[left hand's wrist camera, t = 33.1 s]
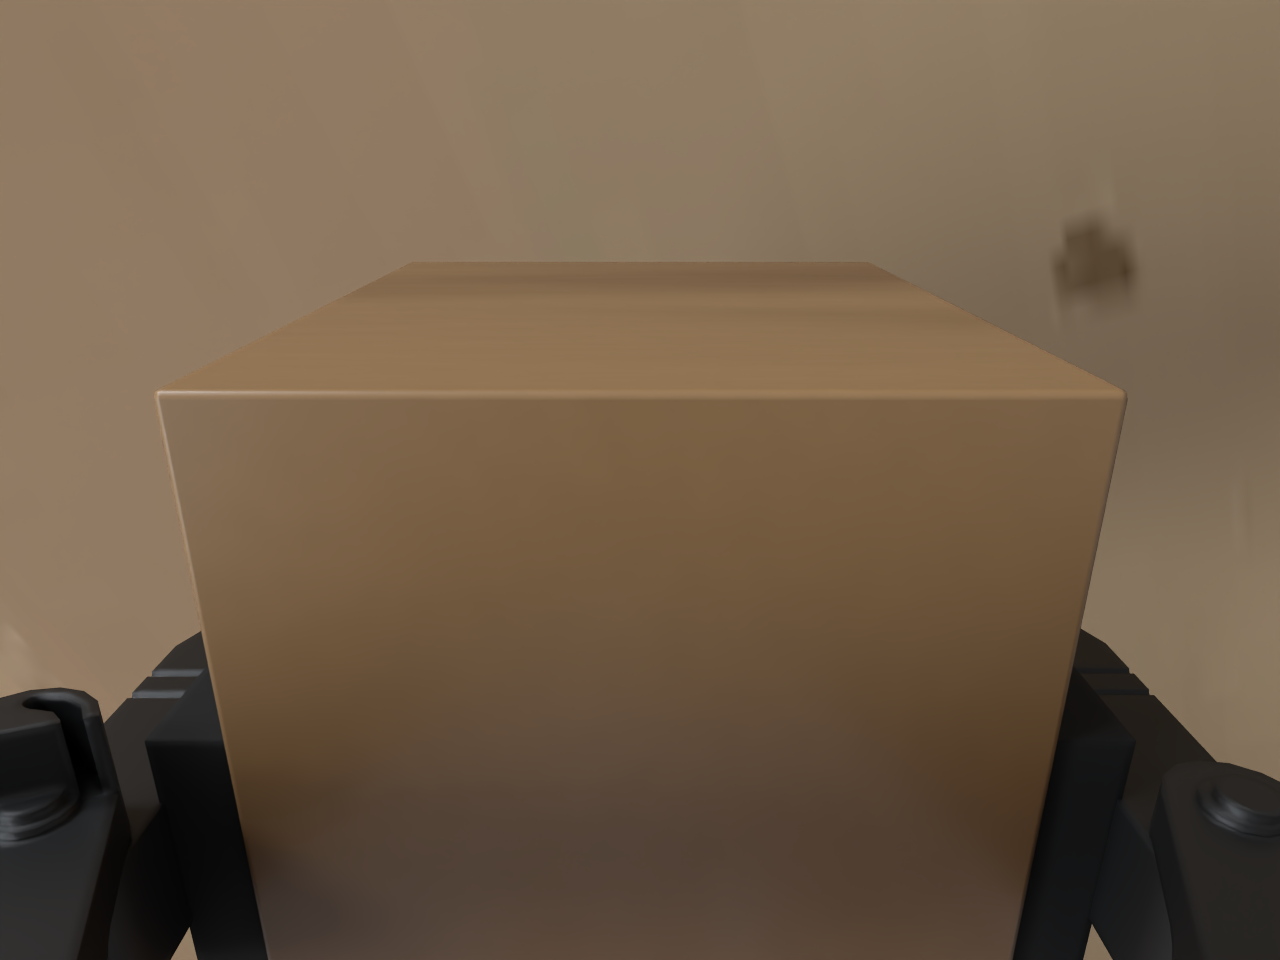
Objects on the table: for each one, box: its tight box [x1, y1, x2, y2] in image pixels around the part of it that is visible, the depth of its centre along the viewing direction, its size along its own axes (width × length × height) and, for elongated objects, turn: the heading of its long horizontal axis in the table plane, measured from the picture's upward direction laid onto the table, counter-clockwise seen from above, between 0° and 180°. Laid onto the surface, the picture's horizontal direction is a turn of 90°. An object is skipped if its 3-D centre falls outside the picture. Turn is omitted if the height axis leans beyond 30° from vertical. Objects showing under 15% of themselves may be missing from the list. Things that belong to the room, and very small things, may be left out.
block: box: [154, 262, 1127, 960], centre depth 12 cm, size 9×7×8 cm
